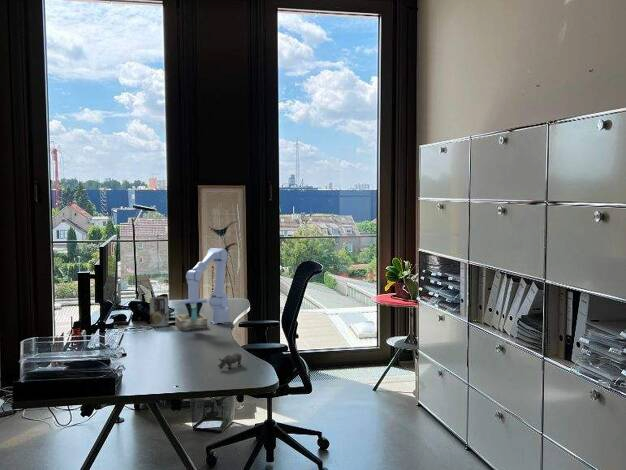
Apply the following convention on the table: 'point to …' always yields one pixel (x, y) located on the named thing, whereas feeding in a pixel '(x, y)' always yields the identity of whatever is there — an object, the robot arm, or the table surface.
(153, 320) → the coffee box
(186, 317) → the box
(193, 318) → the peg
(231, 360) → the rhino figurine
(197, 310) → the robot arm
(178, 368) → the table surface
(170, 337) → the table surface
